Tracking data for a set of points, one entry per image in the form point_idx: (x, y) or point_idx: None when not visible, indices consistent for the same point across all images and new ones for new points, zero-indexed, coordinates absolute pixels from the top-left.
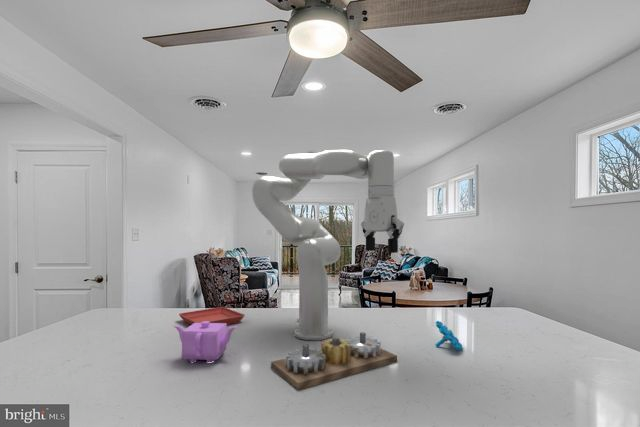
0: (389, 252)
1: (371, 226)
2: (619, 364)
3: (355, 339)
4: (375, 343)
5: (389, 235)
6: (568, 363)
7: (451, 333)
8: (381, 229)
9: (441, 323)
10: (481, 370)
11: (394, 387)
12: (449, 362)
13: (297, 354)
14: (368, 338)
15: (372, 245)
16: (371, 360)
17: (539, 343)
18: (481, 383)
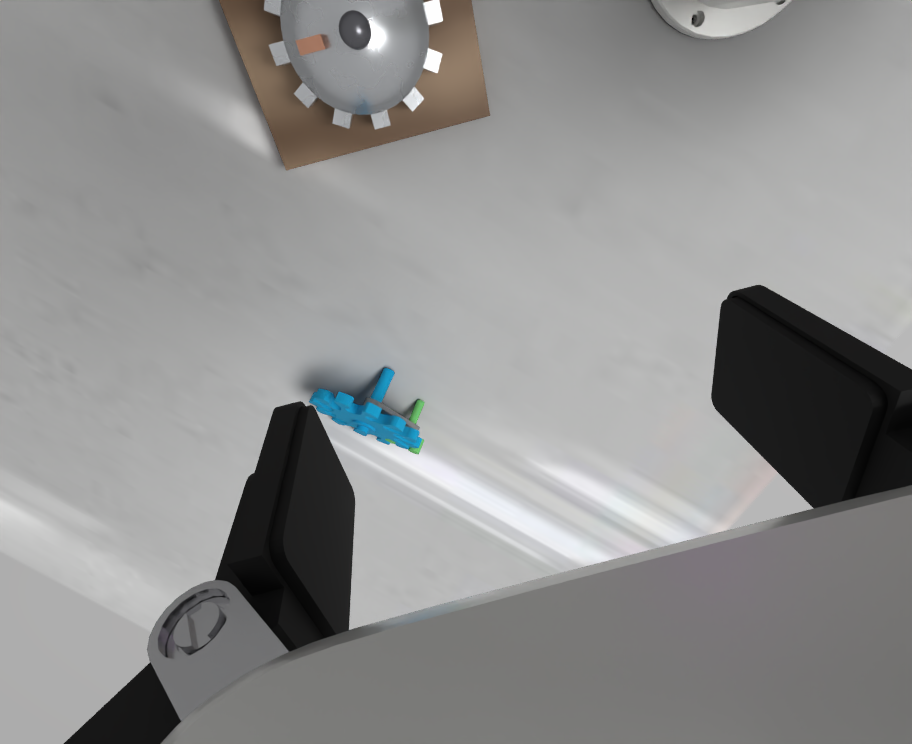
0: (284, 407)
1: (884, 654)
2: None
3: (404, 12)
4: (325, 91)
5: (237, 629)
6: (207, 570)
7: (357, 429)
8: (303, 683)
9: (403, 436)
10: (179, 379)
11: (31, 5)
12: (252, 332)
13: None
14: (400, 93)
15: (754, 405)
16: (246, 19)
17: None
18: (81, 325)
